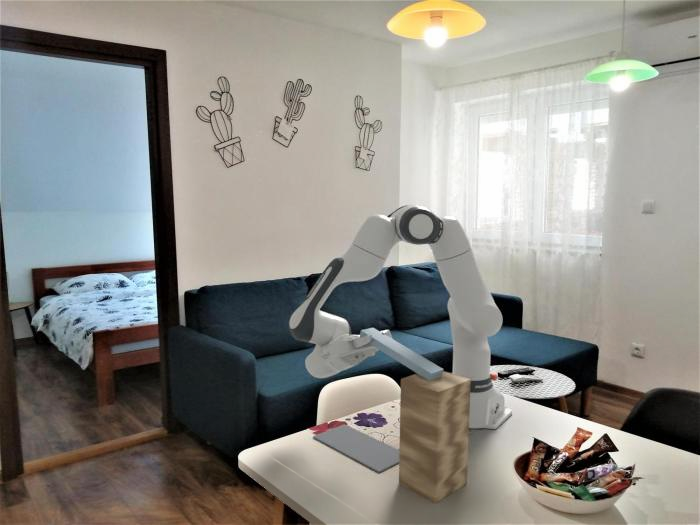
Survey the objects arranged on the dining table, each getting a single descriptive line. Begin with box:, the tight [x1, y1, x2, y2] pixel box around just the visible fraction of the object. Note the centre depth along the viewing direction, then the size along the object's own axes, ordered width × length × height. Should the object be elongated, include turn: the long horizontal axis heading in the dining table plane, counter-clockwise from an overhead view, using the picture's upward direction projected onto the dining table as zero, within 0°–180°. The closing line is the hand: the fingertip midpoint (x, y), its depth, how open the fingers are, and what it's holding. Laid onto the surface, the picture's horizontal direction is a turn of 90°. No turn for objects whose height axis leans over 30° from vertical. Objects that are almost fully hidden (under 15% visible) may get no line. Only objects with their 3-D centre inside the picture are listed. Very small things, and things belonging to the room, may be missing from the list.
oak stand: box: [398, 370, 471, 504], centre depth 127 cm, size 12×11×26 cm
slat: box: [359, 327, 444, 381], centre depth 133 cm, size 4×24×2 cm, turn 43°
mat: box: [312, 423, 399, 474], centre depth 147 cm, size 12×26×1 cm, turn 43°
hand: (378, 335), depth 138 cm, fingers closed on slat, 4 cm apart
